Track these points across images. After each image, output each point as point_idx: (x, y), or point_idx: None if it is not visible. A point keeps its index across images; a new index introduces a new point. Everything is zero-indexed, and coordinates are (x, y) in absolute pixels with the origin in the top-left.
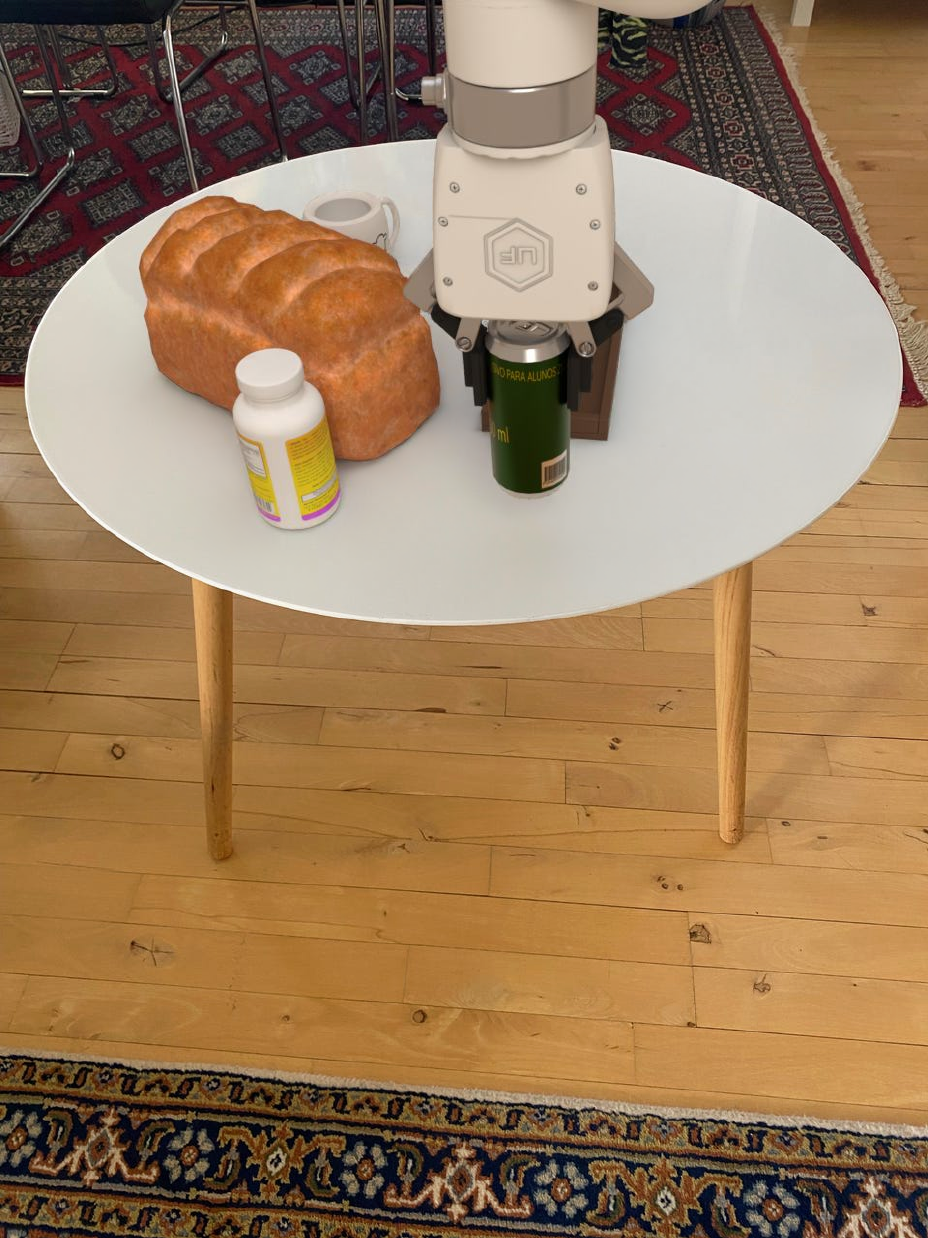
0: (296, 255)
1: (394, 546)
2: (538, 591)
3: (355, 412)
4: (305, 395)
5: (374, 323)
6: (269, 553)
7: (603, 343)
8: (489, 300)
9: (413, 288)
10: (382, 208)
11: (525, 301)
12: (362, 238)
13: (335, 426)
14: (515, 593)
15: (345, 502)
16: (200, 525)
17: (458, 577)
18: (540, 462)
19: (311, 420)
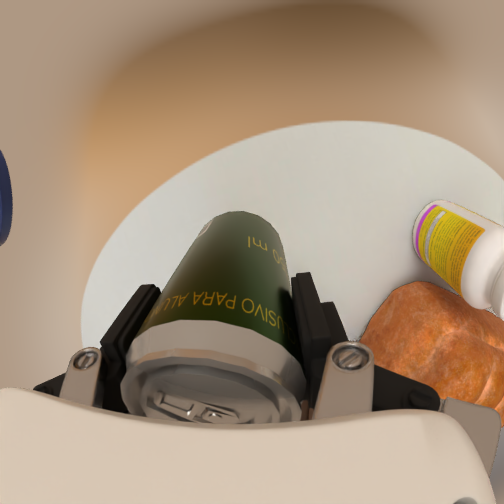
0: None
1: (362, 197)
2: (226, 170)
3: (422, 310)
4: (484, 283)
5: None
6: (444, 175)
7: None
8: (263, 501)
9: (485, 432)
10: None
11: (108, 477)
12: None
13: (433, 295)
14: (245, 163)
15: (407, 240)
16: (483, 198)
17: (299, 170)
18: (207, 230)
19: (474, 257)
